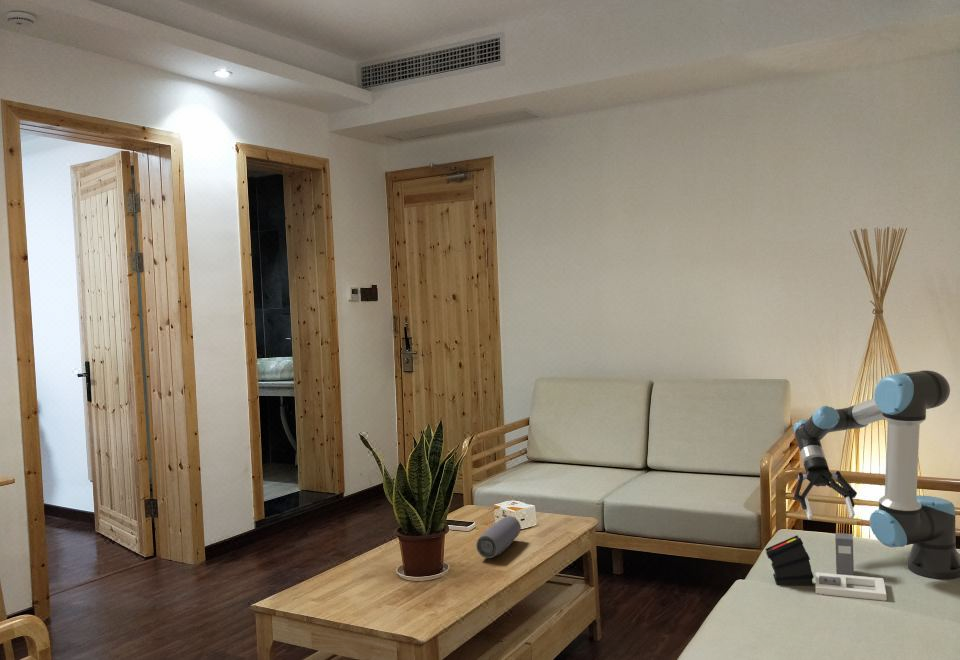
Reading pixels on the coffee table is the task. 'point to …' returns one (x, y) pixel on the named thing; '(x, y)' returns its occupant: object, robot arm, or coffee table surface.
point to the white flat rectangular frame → (837, 587)
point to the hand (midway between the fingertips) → (831, 517)
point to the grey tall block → (844, 554)
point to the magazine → (790, 562)
